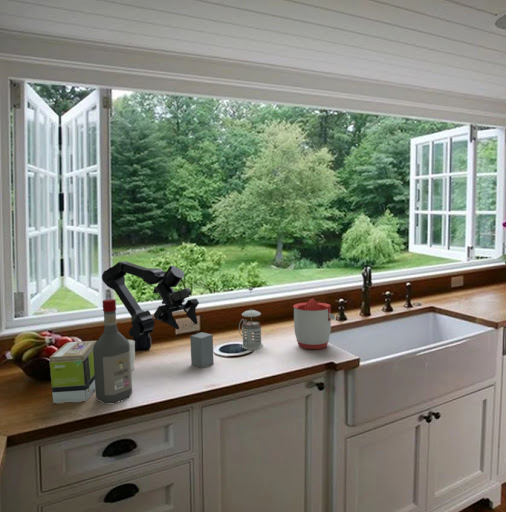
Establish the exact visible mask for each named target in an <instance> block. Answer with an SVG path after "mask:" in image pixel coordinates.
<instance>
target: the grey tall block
mask: <svg viewBox="0 0 506 512" xmlns="http://www.w3.org/2000/svg"><path fill="white" fill-rule="evenodd" d="M189 337H190V338H189V339H190V341H189V342H190V361H191V363H190V364H191V366H193V367H198V368H201V369H203V368H206V367H208V366H211V365H214V360H215V359H214V338H213V337H214V336H213V334H211V333H207V332H201V331H200V332H197V333H196V334H192V335H190V336H189Z"/></svg>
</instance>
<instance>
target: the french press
mask: <svg viewBox="0 0 506 512" xmlns="http://www.w3.org/2000/svg"><path fill="white" fill-rule="evenodd" d="M247 290H248V291H249V292H252V291H253V290H254V288H253V287H250V286H249V288H248V289H247ZM261 315H262V313H261V312H260V311H257V310H254V309H248V310H245V311H244V312H242V313H241V316H242V317H245V319H244V318H242V319H240V322H239V325H238V331H239V332H238V333H239V334H240V336H242V344H241V345H242V348H241V349H243V348H244V350H249V349H254V350H259V349H262V348H264V346H265V345H264V344H263V343H262V326H261V323H260V322H259V321H252V320H253V319H252V318H257V317H260V316H261ZM247 318H250V321H249V320H248V321H247ZM241 322H242V324H241ZM240 325H241V329H240ZM240 330H241V331H240ZM241 333H242V334H241Z"/></svg>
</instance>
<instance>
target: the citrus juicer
mask: <svg viewBox="0 0 506 512" xmlns="http://www.w3.org/2000/svg"><path fill="white" fill-rule="evenodd" d="M292 307H293V327H294V334H295V339H296V342H297V344H298V346H299V347H300V348H301V349H308V350H322V349H325V348H326V347H327V346H328V343H329V342H330V341H329V339H330V336H331V330H332V329H331V328H332V323H331V322H332V321H333V320H334V321H336V319H337V318H336V315H335V314H333V313H332V307H331V304H328V303H326V302H317V300H315V299H314V298H310V299H309V300H308V301H307V302H306V301H305V302H298V303H295V304H293V306H292Z"/></svg>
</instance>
